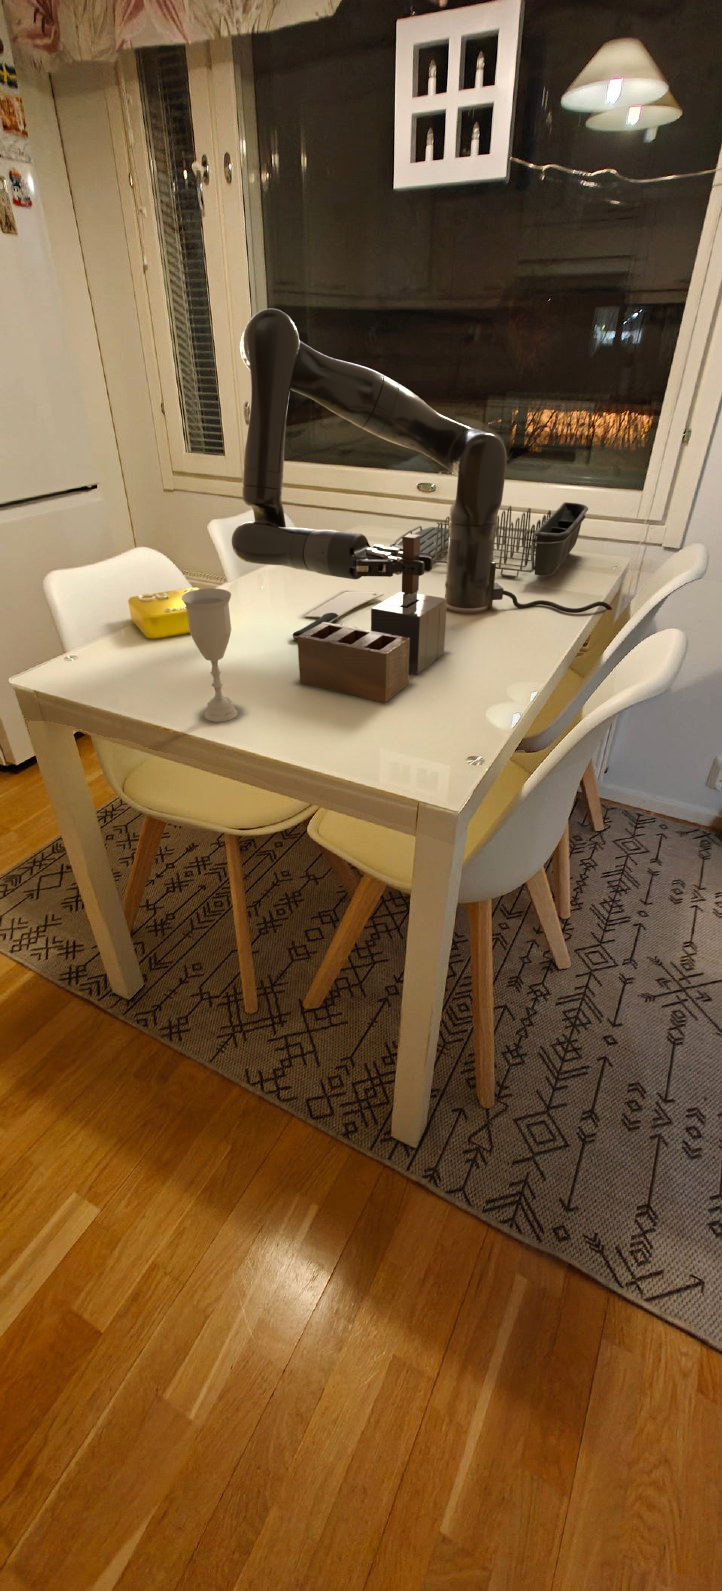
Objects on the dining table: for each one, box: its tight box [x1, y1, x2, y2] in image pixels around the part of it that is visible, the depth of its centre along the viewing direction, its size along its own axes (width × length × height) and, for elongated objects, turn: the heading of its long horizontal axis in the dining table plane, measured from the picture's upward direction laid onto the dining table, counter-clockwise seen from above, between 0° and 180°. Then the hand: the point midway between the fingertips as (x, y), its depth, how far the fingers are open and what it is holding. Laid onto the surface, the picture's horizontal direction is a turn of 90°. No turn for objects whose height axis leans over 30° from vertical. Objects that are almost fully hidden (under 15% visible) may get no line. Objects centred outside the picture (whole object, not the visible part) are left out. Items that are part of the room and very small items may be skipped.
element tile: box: [127, 587, 199, 640], centre depth 143 cm, size 15×15×5 cm
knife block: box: [370, 590, 448, 675], centre depth 124 cm, size 11×9×10 cm
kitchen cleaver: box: [292, 591, 385, 642], centre depth 147 cm, size 31×2×10 cm
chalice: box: [181, 587, 239, 723], centre depth 104 cm, size 7×7×18 cm
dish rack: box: [393, 501, 589, 579], centre depth 181 cm, size 34×44×12 cm
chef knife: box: [401, 533, 420, 608], centre depth 121 cm, size 4×2×21 cm, turn 150°
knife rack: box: [297, 622, 410, 703], centre depth 116 cm, size 8×16×8 cm, turn 61°
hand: (427, 566), depth 117 cm, fingers closed on chef knife, 2 cm apart
